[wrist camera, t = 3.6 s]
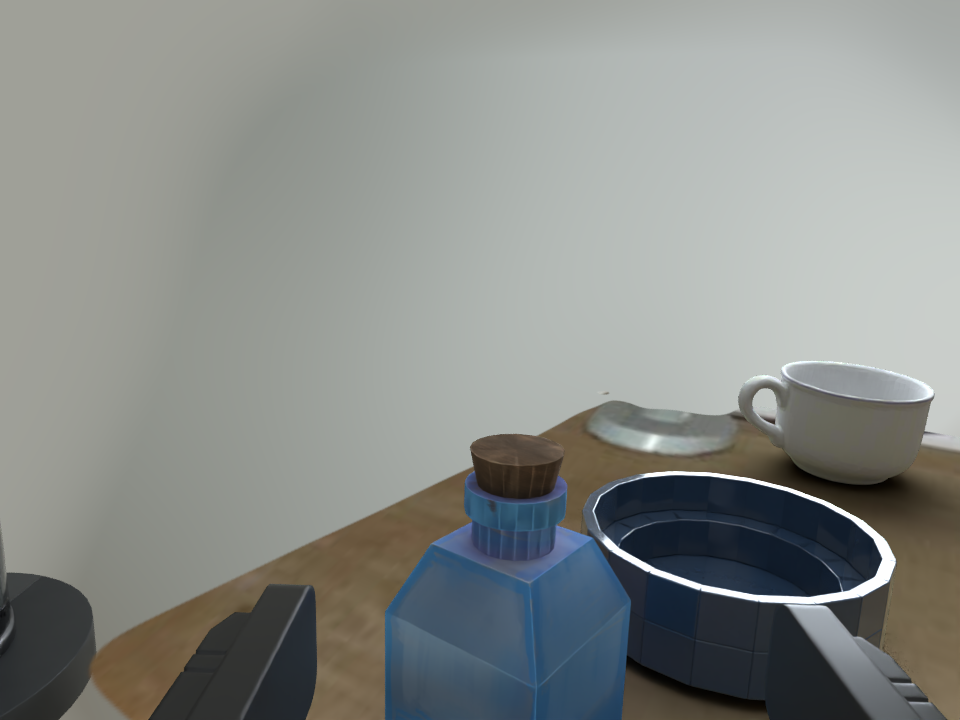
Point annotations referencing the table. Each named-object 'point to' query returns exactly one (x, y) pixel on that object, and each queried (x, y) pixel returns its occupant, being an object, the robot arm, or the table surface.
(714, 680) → the bowl
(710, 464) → the table surface
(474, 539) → the perfume bottle
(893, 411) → the teacup
